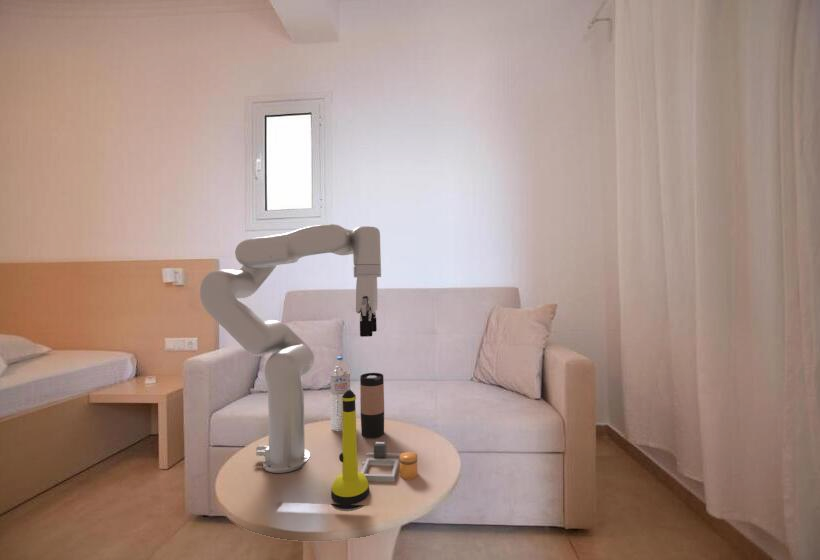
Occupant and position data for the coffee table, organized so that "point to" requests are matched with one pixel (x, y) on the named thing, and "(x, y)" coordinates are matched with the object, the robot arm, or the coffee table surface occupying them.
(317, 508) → the coffee table surface
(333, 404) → the water bottle
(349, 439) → the flashlight
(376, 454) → the breaker toggle
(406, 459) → the cap
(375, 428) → the travel mug
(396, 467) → the board
